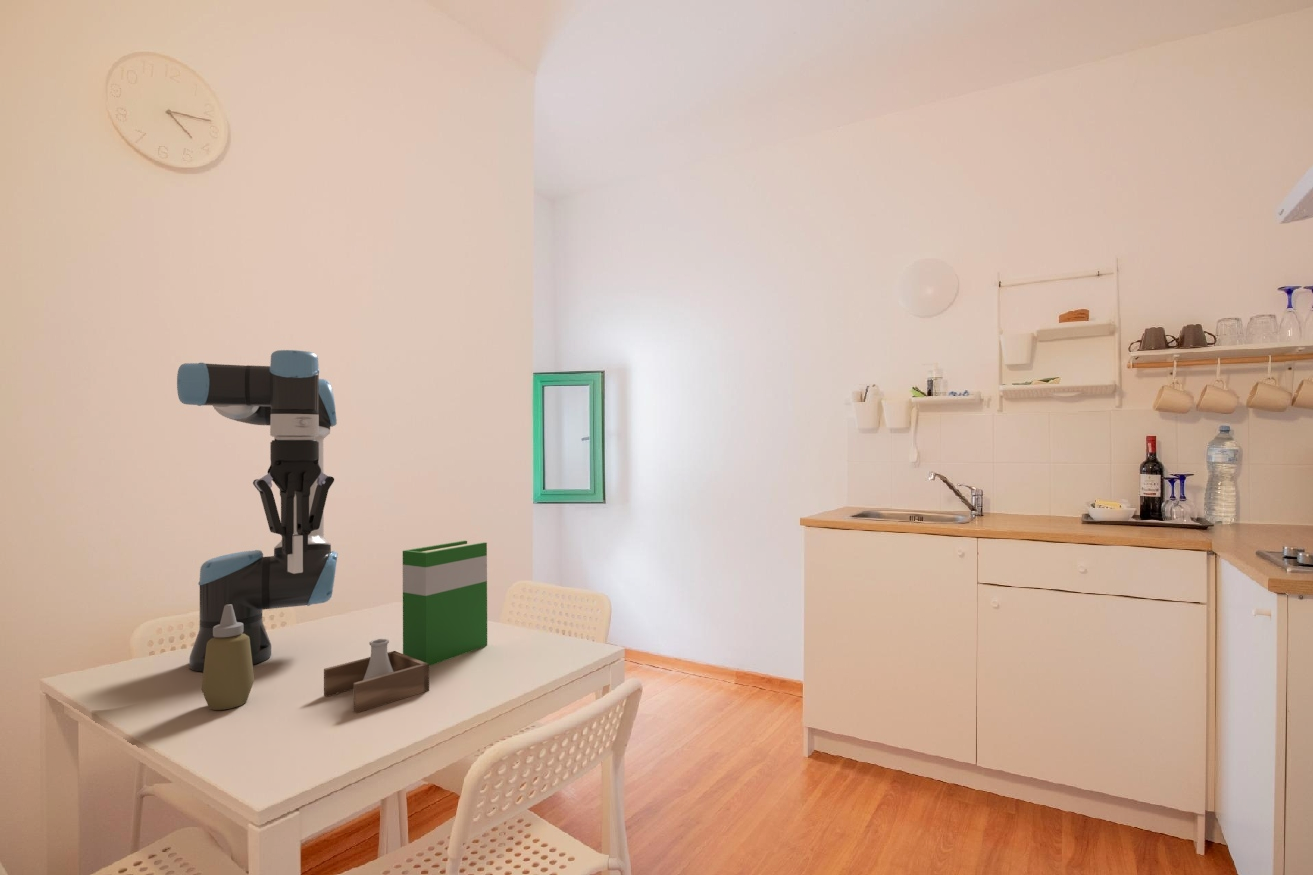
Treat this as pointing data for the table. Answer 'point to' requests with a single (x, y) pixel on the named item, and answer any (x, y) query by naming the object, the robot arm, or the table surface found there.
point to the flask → (378, 659)
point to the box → (378, 681)
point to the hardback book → (444, 600)
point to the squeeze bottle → (227, 664)
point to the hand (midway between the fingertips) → (295, 571)
